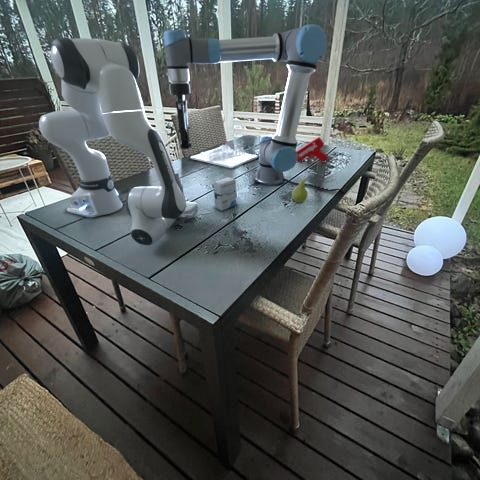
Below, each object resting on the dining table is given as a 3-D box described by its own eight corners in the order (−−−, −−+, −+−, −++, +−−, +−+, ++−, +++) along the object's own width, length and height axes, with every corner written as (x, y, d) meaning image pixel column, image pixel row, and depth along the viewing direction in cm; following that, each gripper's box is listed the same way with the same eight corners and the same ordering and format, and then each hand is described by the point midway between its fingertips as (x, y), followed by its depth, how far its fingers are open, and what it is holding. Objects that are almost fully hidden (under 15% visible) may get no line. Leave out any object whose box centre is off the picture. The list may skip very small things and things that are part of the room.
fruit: (288, 200, 123) (290, 174, 116) (302, 197, 125) (305, 172, 119) (296, 206, 118) (299, 179, 111) (310, 203, 120) (314, 177, 114)
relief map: (232, 168, 162) (231, 159, 159) (190, 158, 179) (189, 150, 177) (257, 157, 180) (257, 149, 177) (217, 149, 198) (217, 142, 195)
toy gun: (332, 156, 168) (319, 135, 164) (331, 158, 165) (319, 137, 161) (306, 172, 178) (294, 152, 174) (305, 174, 175) (293, 154, 171)
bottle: (183, 218, 109) (177, 175, 99) (172, 217, 110) (165, 174, 100) (188, 213, 113) (182, 170, 103) (176, 212, 114) (170, 170, 104)
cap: (193, 146, 114) (193, 142, 113) (186, 148, 111) (186, 144, 110) (185, 145, 116) (184, 140, 115) (178, 147, 112) (177, 143, 112)
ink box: (228, 201, 122) (228, 176, 116) (236, 204, 119) (236, 179, 113) (214, 207, 117) (212, 181, 111) (222, 211, 114) (220, 184, 108)
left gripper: (189, 209, 94) (202, 194, 105) (136, 204, 97) (154, 190, 109) (191, 225, 97) (204, 208, 108) (139, 220, 101) (157, 204, 112)
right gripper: (172, 81, 108) (179, 142, 120) (165, 83, 93) (174, 152, 106) (191, 81, 108) (196, 142, 121) (187, 83, 94) (193, 152, 106)
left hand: (178, 199), depth 109 cm, fingers closed on bottle, 5 cm apart
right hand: (186, 146), depth 113 cm, fingers closed on cap, 4 cm apart
